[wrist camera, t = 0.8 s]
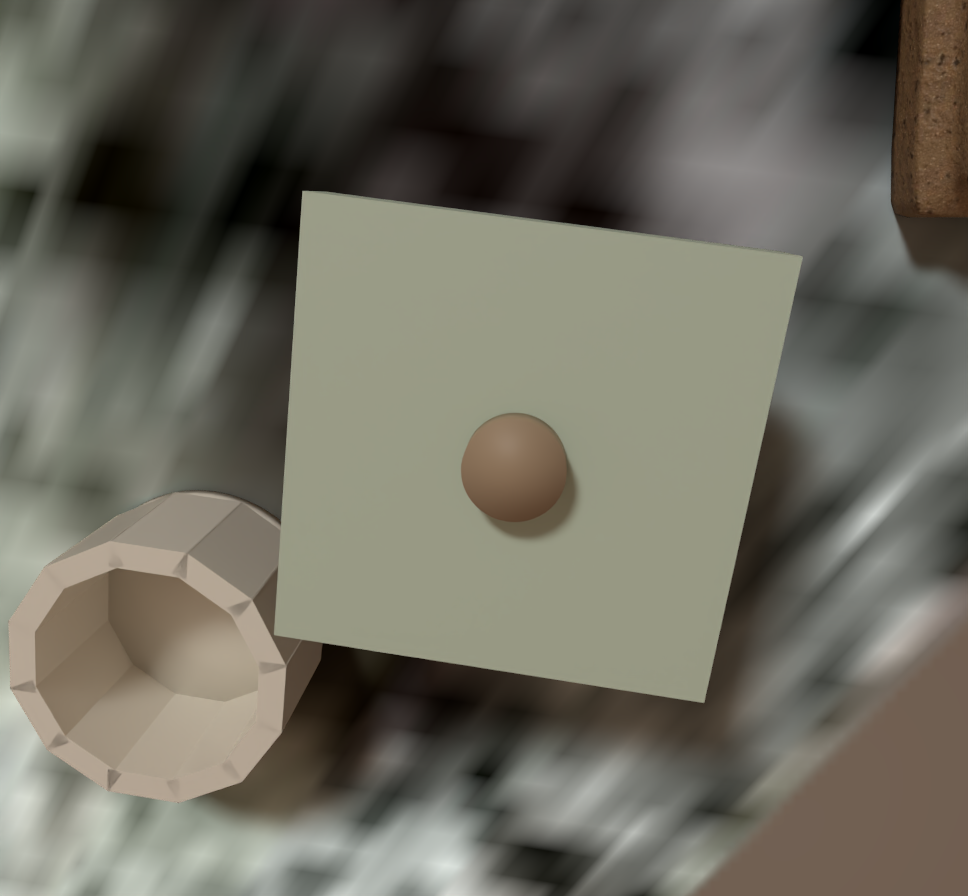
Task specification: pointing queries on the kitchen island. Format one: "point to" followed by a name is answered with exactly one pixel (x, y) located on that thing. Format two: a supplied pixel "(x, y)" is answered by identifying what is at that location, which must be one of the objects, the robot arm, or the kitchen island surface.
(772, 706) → the kitchen island surface
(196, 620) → the bowl
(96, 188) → the kitchen island surface
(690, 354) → the lid
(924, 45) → the candle holder
